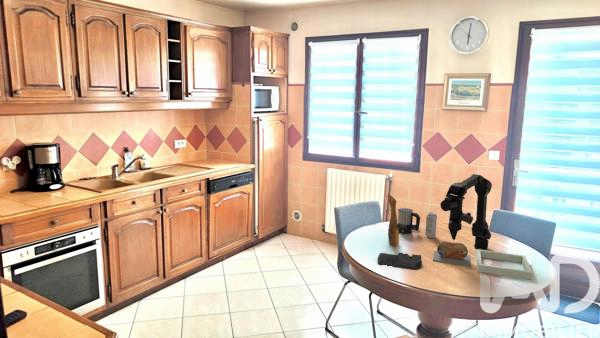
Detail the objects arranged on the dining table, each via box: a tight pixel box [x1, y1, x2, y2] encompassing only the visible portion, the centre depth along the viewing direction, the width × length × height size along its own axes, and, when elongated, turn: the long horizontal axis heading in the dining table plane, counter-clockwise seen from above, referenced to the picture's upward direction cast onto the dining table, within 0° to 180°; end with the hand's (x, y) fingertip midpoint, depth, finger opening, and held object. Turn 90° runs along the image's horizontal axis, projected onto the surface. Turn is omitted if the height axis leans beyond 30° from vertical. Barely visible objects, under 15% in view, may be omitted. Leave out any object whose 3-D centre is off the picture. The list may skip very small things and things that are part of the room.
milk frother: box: [397, 207, 421, 235], centre depth 260 cm, size 14×16×15 cm
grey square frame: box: [476, 248, 533, 280], centre depth 205 cm, size 23×23×4 cm
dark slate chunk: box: [377, 252, 423, 271], centre depth 209 cm, size 15×22×5 cm
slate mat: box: [432, 250, 471, 267], centre depth 215 cm, size 18×14×1 cm
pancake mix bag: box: [387, 193, 400, 248], centre depth 237 cm, size 7×19×28 cm, turn 173°
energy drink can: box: [424, 211, 438, 239], centre depth 249 cm, size 6×6×15 cm
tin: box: [436, 240, 469, 259], centre depth 215 cm, size 15×3×8 cm, turn 68°
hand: (454, 237), depth 213 cm, fingers open, 9 cm apart
